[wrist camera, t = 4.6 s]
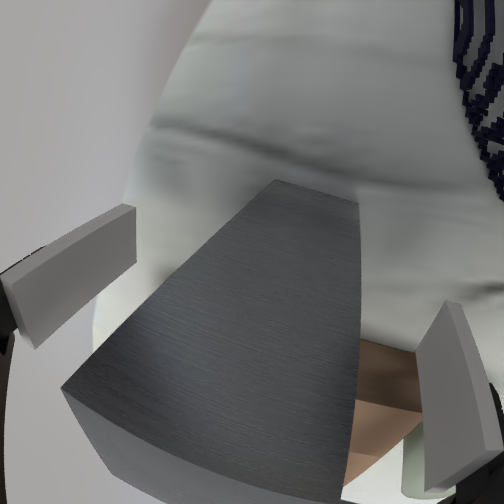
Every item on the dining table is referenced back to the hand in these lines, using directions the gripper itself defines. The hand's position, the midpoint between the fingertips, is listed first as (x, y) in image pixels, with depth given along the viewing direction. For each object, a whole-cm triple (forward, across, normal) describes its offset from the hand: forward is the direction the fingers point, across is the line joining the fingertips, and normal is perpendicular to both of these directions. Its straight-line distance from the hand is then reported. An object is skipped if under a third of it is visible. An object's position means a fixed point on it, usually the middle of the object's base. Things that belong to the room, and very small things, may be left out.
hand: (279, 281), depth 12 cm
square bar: (+6, 0, 0) cm, 6 cm away
